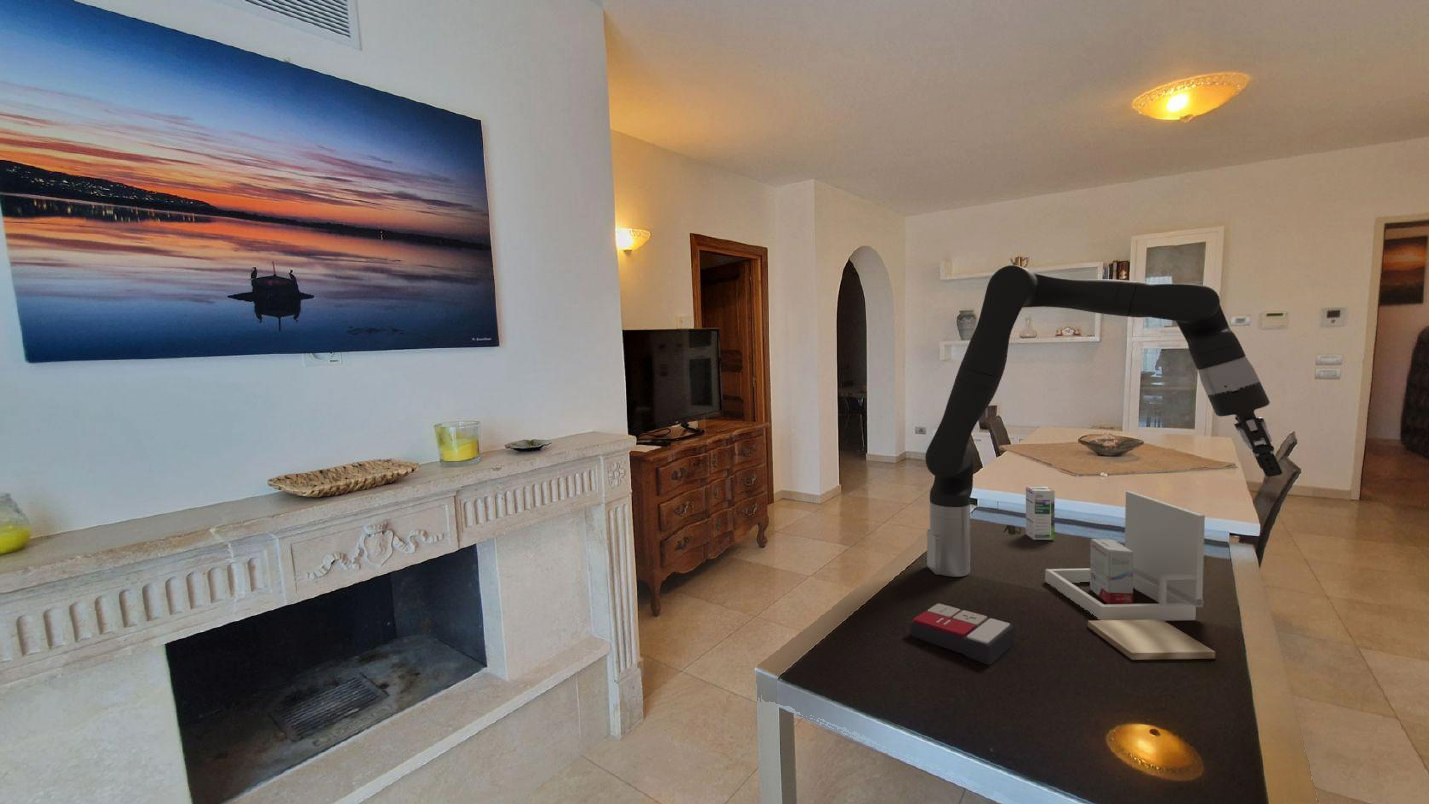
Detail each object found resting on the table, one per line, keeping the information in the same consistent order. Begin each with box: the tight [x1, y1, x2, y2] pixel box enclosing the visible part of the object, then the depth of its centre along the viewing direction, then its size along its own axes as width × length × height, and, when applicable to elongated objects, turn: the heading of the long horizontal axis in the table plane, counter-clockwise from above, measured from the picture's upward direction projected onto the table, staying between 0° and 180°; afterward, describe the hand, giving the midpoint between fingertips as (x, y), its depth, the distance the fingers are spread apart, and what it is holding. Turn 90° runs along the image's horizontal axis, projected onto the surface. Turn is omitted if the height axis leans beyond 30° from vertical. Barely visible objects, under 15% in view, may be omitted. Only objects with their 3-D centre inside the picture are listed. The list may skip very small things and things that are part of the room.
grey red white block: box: [910, 603, 1015, 666], centre depth 105 cm, size 11×4×15 cm
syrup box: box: [1025, 486, 1056, 541], centre depth 160 cm, size 6×6×14 cm
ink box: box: [1089, 538, 1134, 604], centre depth 120 cm, size 9×5×12 cm, turn 168°
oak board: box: [1087, 619, 1216, 661], centre depth 102 cm, size 14×12×1 cm
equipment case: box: [1044, 490, 1206, 622], centre depth 118 cm, size 19×20×21 cm
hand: (1271, 471), depth 99 cm, fingers open, 8 cm apart
